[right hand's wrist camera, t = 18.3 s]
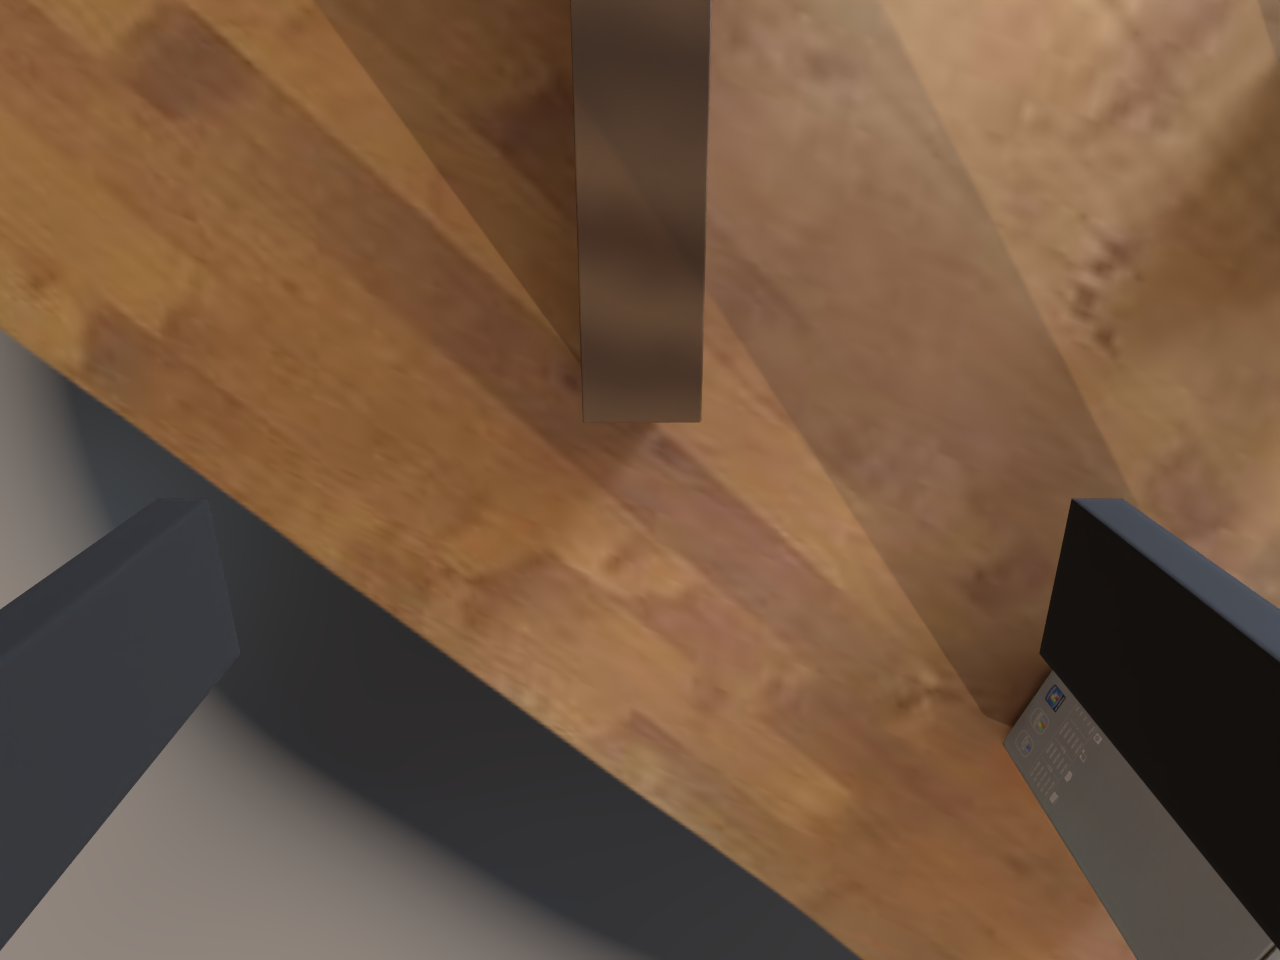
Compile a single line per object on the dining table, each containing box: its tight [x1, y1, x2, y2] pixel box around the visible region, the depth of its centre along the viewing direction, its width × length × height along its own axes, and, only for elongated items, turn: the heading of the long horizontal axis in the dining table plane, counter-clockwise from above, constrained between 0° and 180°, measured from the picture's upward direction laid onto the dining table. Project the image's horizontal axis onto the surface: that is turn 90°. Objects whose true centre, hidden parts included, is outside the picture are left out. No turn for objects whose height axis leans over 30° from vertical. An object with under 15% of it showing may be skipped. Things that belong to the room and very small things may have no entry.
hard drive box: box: [1003, 670, 1280, 960], centre depth 45 cm, size 16×8×20 cm, turn 68°
